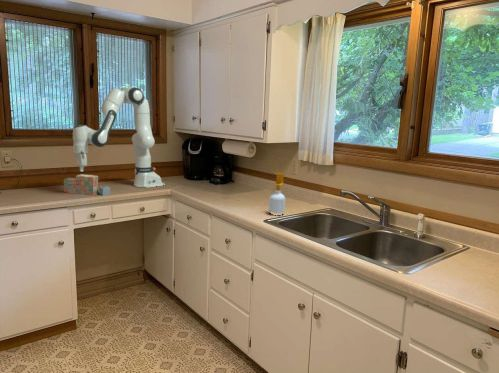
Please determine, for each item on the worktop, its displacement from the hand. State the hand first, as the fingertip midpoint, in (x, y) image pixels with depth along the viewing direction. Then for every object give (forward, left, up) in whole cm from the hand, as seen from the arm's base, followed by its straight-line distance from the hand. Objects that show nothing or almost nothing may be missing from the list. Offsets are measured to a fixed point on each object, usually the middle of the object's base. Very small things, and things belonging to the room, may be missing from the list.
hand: (81, 171), depth 255 cm
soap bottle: (-89, +96, -15) cm, 132 cm away
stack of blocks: (+1, 0, -15) cm, 15 cm away
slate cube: (-12, +9, -15) cm, 21 cm away
